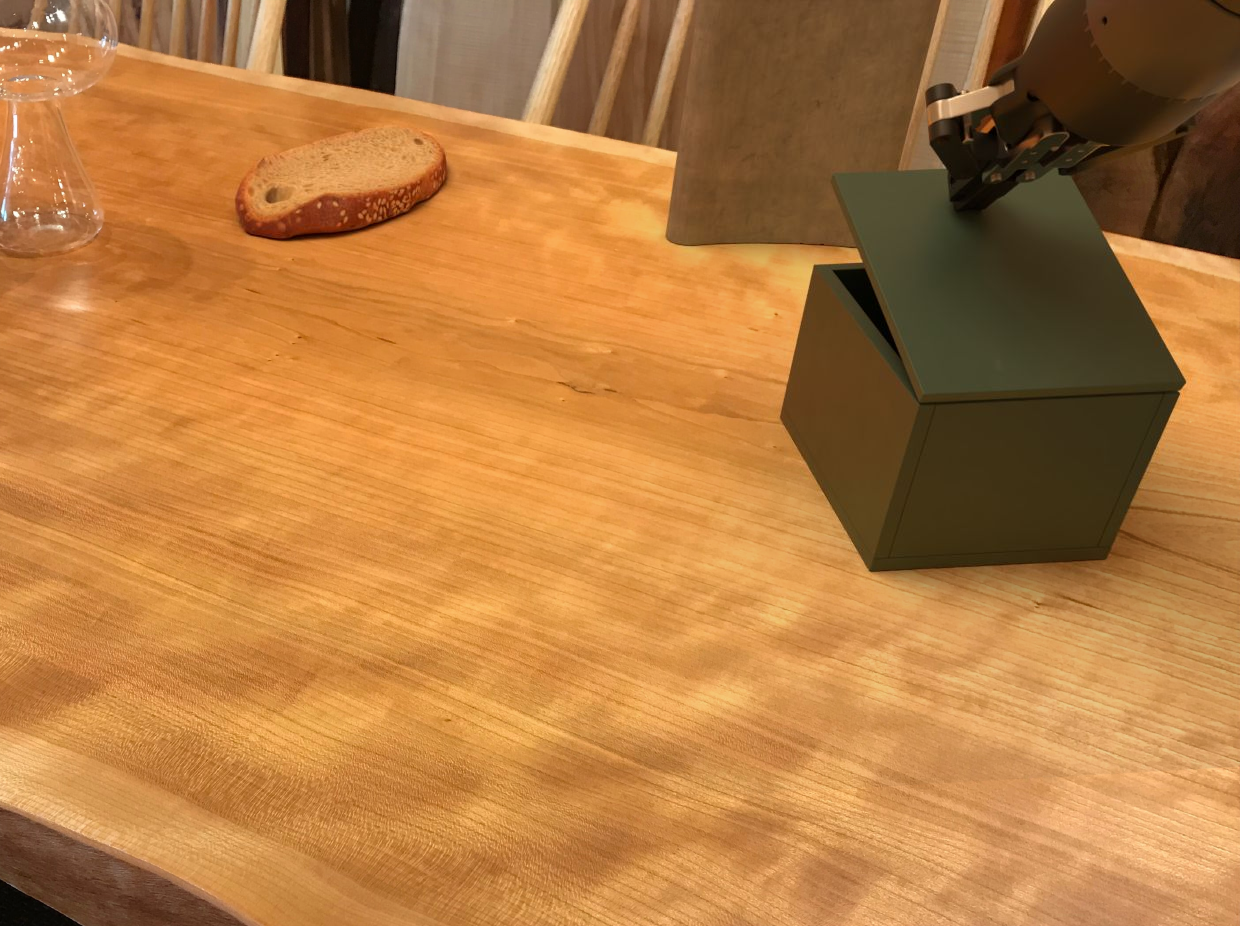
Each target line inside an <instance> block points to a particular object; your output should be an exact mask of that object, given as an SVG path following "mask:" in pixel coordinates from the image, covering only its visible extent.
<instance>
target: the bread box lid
mask: <svg viewBox="0 0 1240 926" xmlns="http://www.w3.org/2000/svg"><path fill="white" fill-rule="evenodd" d="M947 175H948V170H947V169H946V168H927V169H903V170H902V169H901V170H898V171H876V172H853V173H834V174H833V176H832V179H831V185H832V188H833V190H834V192H835V195H836V197H837V200H838V202H839V205H840V207H841V210H842V212H843V215H844V217H845V220H846V222H847V225H848V227H849V230H850V232H851V235H852V237H853V239H854V242H855V244H856V247H857V248H856V247H855V248H856V249H857V252H858V255H859V257H860V259H861V263H862V262H863V264H864V267H865V269H866V272H867V274H868V277H869V279H870V282H871V284H872V287H873V289H874V291H875V294H876V296H877V299H878V301H879V304H880V306H881V309H882V311H883V314H884V316H885V319H886V321H887V324H888V326H889V329H890V331H891V334H892V336H893V338H894V341H895V343H896V346H897V348H898V351H899V353H900V356H901V358H902V361H903V363H904V366H905V368H906V371H907V373H908V376H909V378H910V381H911V383H912V386H913V388H914V390H915V393H916V395H917V398H918V400H919V402H920V403H929V402H950V401H971V400H992V399H1013V398H1034V397H1055V396H1076V395H1097V394H1118V393H1139V392H1160V391H1179V392H1180V391H1182V389H1183V388H1184V387H1185V385H1186V384H1187V380H1186V378H1185V376H1184V374H1183V373H1182V371H1181V369H1180V368H1179V366H1178V364H1177V362H1176V361H1175V358H1174V357H1173V355H1172V353H1171V351H1170V350H1169V348H1168V347H1167V344H1166V343H1165V341H1164V338H1163V337H1162V336H1161V334H1160V332H1159V330H1158V328H1157V327H1156V325H1155V323H1154V321H1153V320H1152V318H1151V316H1150V314H1149V312H1148V311H1147V309H1146V307H1145V306H1144V303H1143V302H1142V300H1141V298H1140V297H1139V295H1138V293H1137V291H1136V290H1135V287H1134V286H1133V284H1132V282H1131V280H1130V279H1129V277H1128V275H1127V273H1126V272H1125V270H1124V268H1123V266H1122V265H1121V263H1120V261H1119V259H1118V257H1117V256H1116V253H1115V252H1114V250H1113V248H1112V247H1111V245H1110V243H1109V242H1108V239H1107V238H1106V236H1105V234H1104V233H1103V231H1102V229H1101V227H1100V226H1099V224H1098V221H1097V220H1096V218H1095V217H1094V215H1093V213H1092V211H1091V209H1090V207H1089V205H1087V202H1086V201H1085V199H1084V197H1083V195H1082V194H1081V192H1080V190H1079V188H1078V186H1077V184H1076V183H1075V181H1074V179H1073V178H1072V175H1070V176H1061V175H1059V174H1058V168H1053V169H1052V170H1051V171H1049V172H1048V173H1046V174H1045V175H1044V176H1042V177H1041V178H1039V179H1037V180H1034V181H1032V182H1029V183H1019V184H1018V185H1017V186H1016V187H1014V188H1013V189H1012V190H1011V191H1010V192H1008V193H1007V194H1006V195H1005V196H1003V197H1001V198H999V199H997V200H996V201H995V202H993V203H992V204H991V205H990V206H988V207H987V208H986V209H984V210H962V211H956V210H955V209H954V206H953V202H949V190H948V178H947Z"/></svg>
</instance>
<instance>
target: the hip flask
mask: <svg viewBox="0 0 1240 926" xmlns="http://www.w3.org/2000/svg"><path fill="white" fill-rule="evenodd" d="M941 2H942V0H698V3H697V10H696V17H695V23H694V24H695V25H694V33H693V37H692V45H691V52H690V53H691V54H690V60H689V66H688V73H687V79H686V86H685V87H686V88H685V94H684V95H685V96H684V101H683V110H682V114H681V115H682V116H681V124H680V130H679V138H678V145H677V152H676V158H675V164H674V165H675V166H674V172H673V178H672V179H673V180H672V186H671V194H670V203H669V207H668V208H669V209H668V213H667V215H668V216H667V223H666V230H665V238H666V239H667V240H668V241H670V243H671V242H672V243H675V244H677V245H682V246H699V245H700V246H701V245H714V244H716V245H717V244H748V243H749V244H751V243H752V244H758V243H760V244H762V243H763V244H800V243H803V245H820V244H824V245H823V246H835V247H836V246H837V247H846V248H856V249H857V247H856V244H855V242H854V239H853V237H852V235H851V232H850V230H849V227H848V225H847V222H846V220H845V217H844V215H843V212H842V210H841V207H840V205H839V202H838V200H837V197H836V195H835V192H834V190H833V188H832V185H831V179H832V176H833V174H834V173H853V172H876V171H899V168H900V164H901V161H902V160H901V159H902V156H903V152H904V148H905V144H906V140H907V137H908V132H909V128H910V124H911V120H912V116H913V112H914V110H915V109H914V108H915V104H916V101H917V98H918V97H917V96H918V92H919V89H920V84H921V81H922V77H923V73H924V70H925V66H926V61H927V57H928V53H929V49H930V45H931V42H932V38H933V34H934V29H935V25H936V21H937V19H938V14H939V10H940V6H941Z"/></svg>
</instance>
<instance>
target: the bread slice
mask: <svg viewBox="0 0 1240 926" xmlns="http://www.w3.org/2000/svg"><path fill="white" fill-rule="evenodd" d="M447 166H448V165H447V156H446V152H445V149H444V147H443V146H442V145H441V143H440V142H439V141H437V139H435V138H434V137H433V136H431V134H428V133H427V132H423V131H422V130H419V129H417V128H415V127H414V126H413V127H412V126H406V125H401V124H396V123H392V124H386V125H385V124H384V125H379V126H374V127H372V126H371V127H365V128H361V129H360V130H353V131H350V130H349V131H347V132H345V133H339V134H335V135H332V136H329V137H324V138H322V139H317V140H314V141H313V142H311V143H305V144H303V145H301V146H298V147H293V148H290V149H287V150H286V151H282V152H279V153H276V154H270V155H267V156H263V157H261V158H260V159H259V160H258V161H257V162H256V163H255V164H254V165H253V166H252V167H251V168H250V169H249V170H247V173H246V174H245V176H243V179H242V180H241V182H240V184H239V186H238V188H237V190H236V194H235V196H234V208H235V212H236V214H237V216H238V218H239V221H240V222H241V226H242V228H243V230H244V231H246V232H247V233H248V234H251V235H258V236H263V237H268V238H273V239H290V238H292V237H295V236H301V235H311V234H327V233H328V234H330V233H331V234H332V233H340V232H347V231H354V230H359V229H361V228H365V227H367V226H369V225H372V224H376V223H381V222H383V221H386V220H388V219H391V218H394V217H396V216H398V215H400V214H404V213H407V212H409V211H410V210H411V208H412V207H413V206H415V205H416V204H418V203H420V202H422V201H425V200H428V199H429V198H430V197H432V196H433V195H434V194H435V193H436V192H437V191H438V190H439V188H440V187H441V185H442V184H443V183H444V181H445V179H446V178H447V172H448V171H447V170H448V167H447Z"/></svg>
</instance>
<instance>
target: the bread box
mask: <svg viewBox="0 0 1240 926" xmlns="http://www.w3.org/2000/svg"><path fill="white" fill-rule="evenodd" d="M797 333H798V334H797V338H796V342H795V347H794V352H793V357H792V361H791V366H790V370H789V373H788V379H787V383H786V388H785V392H784V397H783V401H782V406H781V411H780V415H779V418H780V420H781V422H782V424H783V425H784V428H785V429H786V430H787V432H788V434H789V435H790V437H791V438H792V440H793V442H794V443H795V445H796V448H797V449H798V450H799V453H800V454H801V456H802V457H803V459H804V461H805V463H806V465H807V466H808V468H809V469H810V471H811V473H812V475H813V476H814V479H815V480H816V481H817V483H818V485H819V487H820V488H821V490H822V493H823V494H824V495H825V498H826V499H827V500H828V502H829V505H830V506H831V507H832V509H833V511H834V513H835V514H836V516H837V518H838V519H839V521H840V522H841V524H842V526H843V528H844V529H845V532H846V533H847V535H848V536H849V538H850V540H851V541H852V543H853V545H854V547H855V549H856V550H857V552H858V554H859V555H860V557H861V559H862V560H863V562H864V564H865V566H866V567H867V569H868V571H869V572H876V571H878V572H879V571H896V570H898V571H899V570H917V569H918V570H919V569H936V568H939V569H940V568H955V567H957V568H958V567H972V566H973V567H975V566H993V565H994V566H996V565H1014V564H1015V565H1016V564H1035V563H1036V564H1037V563H1054V562H1055V563H1056V562H1070V561H1073V562H1074V561H1075V562H1076V561H1091V560H1092V561H1095V560H1106V559H1108V556H1109V555H1110V552H1111V551H1112V550H1111V549H1112V547H1113V545H1114V543H1115V541H1116V539H1117V537H1118V534H1119V532H1120V531H1121V528H1122V525H1123V523H1124V521H1125V519H1126V517H1127V514H1128V512H1129V509H1130V507H1131V505H1132V503H1133V501H1134V498H1135V496H1136V494H1137V492H1138V490H1139V487H1140V485H1141V482H1142V480H1143V479H1144V476H1145V474H1146V471H1147V469H1148V467H1149V465H1150V463H1151V460H1152V458H1153V456H1154V454H1155V452H1156V449H1157V447H1158V445H1159V443H1160V441H1161V438H1162V436H1163V433H1164V432H1165V429H1166V426H1167V425H1168V422H1169V420H1170V418H1171V415H1172V414H1173V411H1174V410H1175V407H1176V405H1177V402H1178V400H1179V398H1180V396H1181V392H1180V391H1160V392H1139V393H1118V394H1097V395H1076V396H1055V397H1034V398H1013V399H992V400H971V401H950V402H929V403H920V402H919V400H918V398H917V395H916V393H915V390H914V388H913V386H912V383H911V381H910V378H909V376H908V373H907V371H906V368H905V366H904V363H903V361H902V358H901V356H900V353H899V351H898V348H897V346H896V343H895V341H894V338H893V336H892V334H891V331H890V329H889V326H888V324H887V321H886V319H885V316H884V314H883V311H882V309H881V306H880V304H879V301H878V299H877V296H876V294H875V291H874V289H873V287H872V284H871V282H870V279H869V277H868V274H867V272H866V269H865V267H864V264H863V262H862V261H861V262H844V263H843V262H842V263H840V262H839V263H822V264H821V263H820V264H813V266H812V271H811V275H810V280H809V284H808V289H807V294H806V297H805V302H804V307H803V311H802V315H801V321H800V324H799V329H798V332H797Z"/></svg>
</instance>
